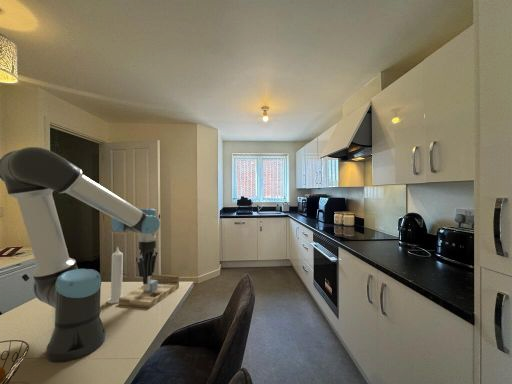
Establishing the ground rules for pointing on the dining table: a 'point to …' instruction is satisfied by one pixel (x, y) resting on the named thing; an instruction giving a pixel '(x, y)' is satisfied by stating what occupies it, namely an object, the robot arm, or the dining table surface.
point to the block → (152, 286)
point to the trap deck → (150, 299)
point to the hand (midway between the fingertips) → (146, 289)
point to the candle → (116, 277)
